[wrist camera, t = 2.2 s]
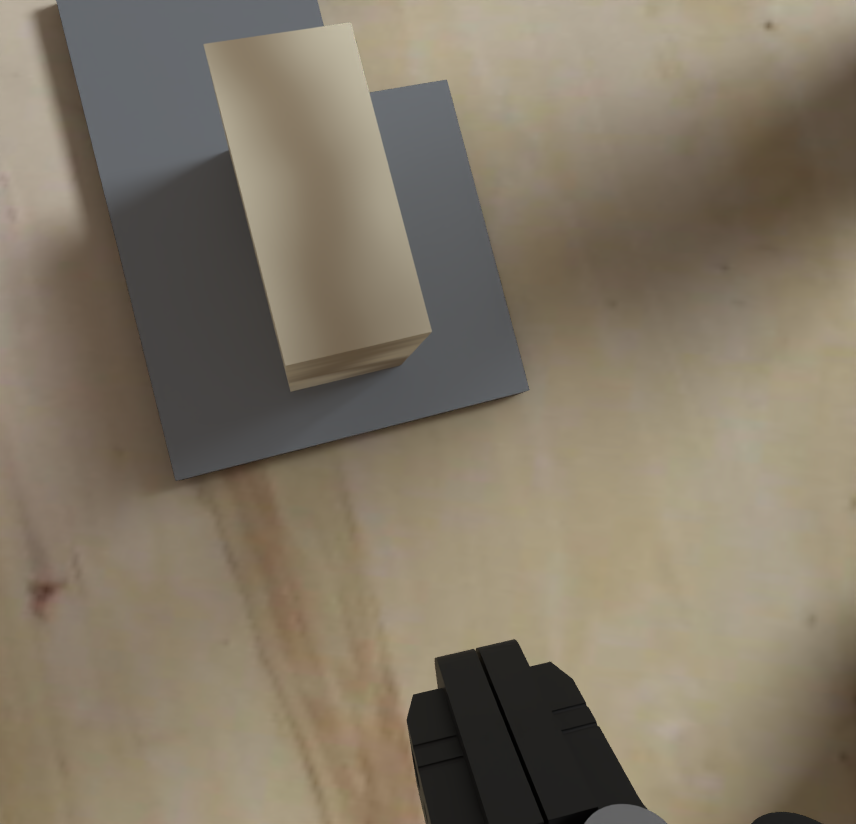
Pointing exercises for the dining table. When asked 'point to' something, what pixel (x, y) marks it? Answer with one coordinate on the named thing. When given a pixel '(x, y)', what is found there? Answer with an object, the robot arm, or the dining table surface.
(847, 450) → the dining table surface
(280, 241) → the birch block
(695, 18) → the dining table surface
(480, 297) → the board
